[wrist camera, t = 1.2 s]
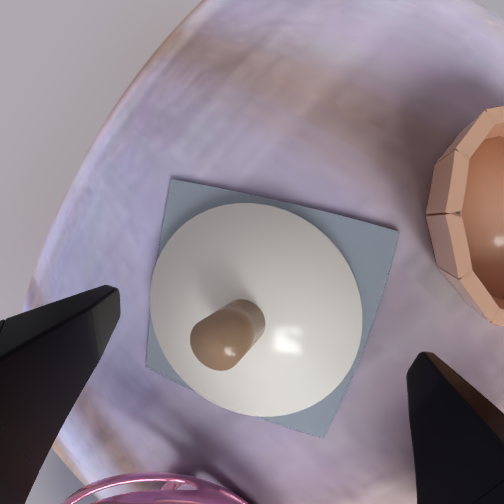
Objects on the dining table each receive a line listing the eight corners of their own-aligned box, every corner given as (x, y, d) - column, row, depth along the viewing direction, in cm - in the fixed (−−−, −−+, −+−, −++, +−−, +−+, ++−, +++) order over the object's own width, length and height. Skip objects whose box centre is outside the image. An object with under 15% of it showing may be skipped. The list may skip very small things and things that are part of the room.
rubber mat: (323, 435, 24) (323, 438, 23) (148, 364, 29) (145, 366, 29) (398, 231, 20) (399, 231, 20) (174, 179, 26) (171, 179, 25)
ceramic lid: (319, 433, 23) (306, 479, 17) (150, 364, 28) (110, 389, 23) (391, 236, 20) (405, 242, 14) (174, 185, 25) (126, 178, 19)
